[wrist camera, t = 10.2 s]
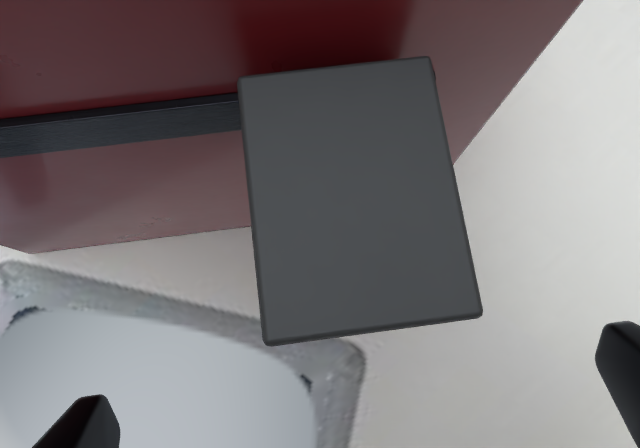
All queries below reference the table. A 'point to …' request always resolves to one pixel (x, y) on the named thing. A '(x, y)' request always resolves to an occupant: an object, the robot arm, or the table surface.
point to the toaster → (208, 98)
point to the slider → (353, 202)
